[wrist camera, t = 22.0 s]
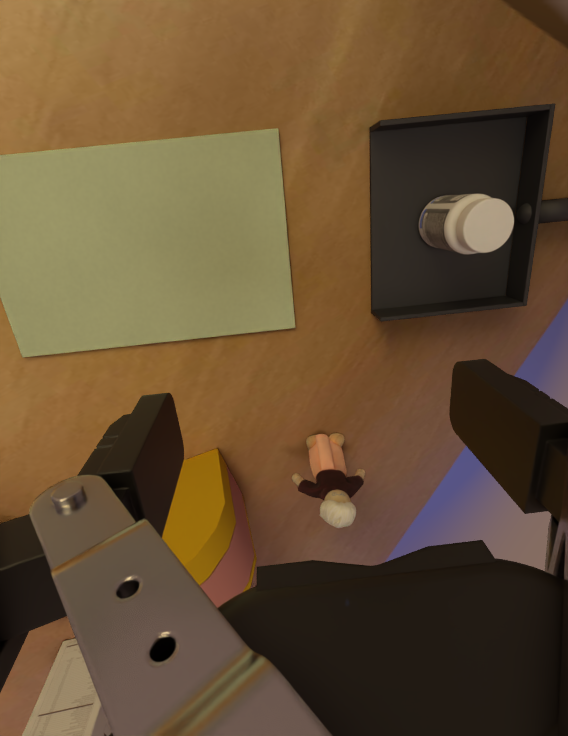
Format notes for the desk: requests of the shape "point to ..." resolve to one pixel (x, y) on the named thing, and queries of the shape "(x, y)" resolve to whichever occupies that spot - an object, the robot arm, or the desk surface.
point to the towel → (144, 242)
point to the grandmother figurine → (331, 479)
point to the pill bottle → (466, 223)
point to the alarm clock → (211, 528)
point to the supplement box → (68, 699)
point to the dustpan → (456, 177)
